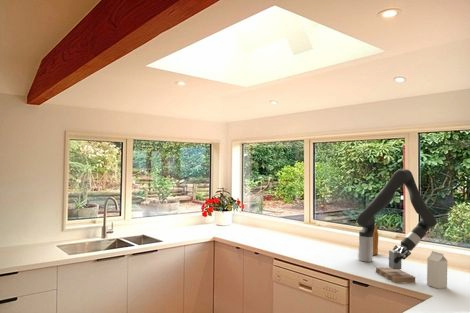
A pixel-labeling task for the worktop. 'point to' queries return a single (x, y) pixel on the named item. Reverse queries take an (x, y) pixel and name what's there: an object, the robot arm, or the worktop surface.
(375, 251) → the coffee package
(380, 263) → the worktop surface
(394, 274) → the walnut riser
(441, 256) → the milk carton
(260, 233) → the worktop surface
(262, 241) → the worktop surface
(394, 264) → the block
